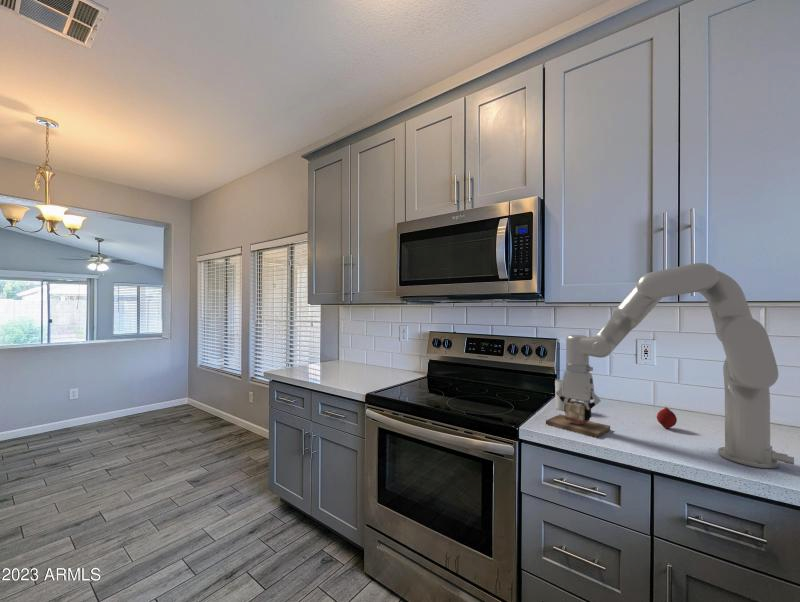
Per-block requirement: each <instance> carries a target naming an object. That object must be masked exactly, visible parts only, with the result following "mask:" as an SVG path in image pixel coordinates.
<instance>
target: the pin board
mask: <svg viewBox="0 0 800 602" xmlns="http://www.w3.org/2000/svg"><path fill="white" fill-rule="evenodd" d="M546 424H548V425H547V426H550V425H551V426H550V427H553V426H555V427H554V428H557V427H558V429H561V428H562V429H561V430H565V429H566V430H565V431H568V430H569V432H572V431H573V432H572V433H576V432H577V434H580V435H584V436H588V437H591V436H592V437H591V438H595V437H596V438H595V439H599V438H600V437H602V436H603V435H605V434H606V433H608V432H609V430H611V425H609V424H608V425H607V424H604V423H599V422H595V421H590V420H589V421H587V422H585V423H584V424H581V425H577V424H573V423H571V421H569V420H565V415H564V414H561V413H560V414H558V415H554V416H553V417H550V418H549V419H547V420H546V419H545V425H546ZM607 431H608V432H607ZM604 433H605V434H604ZM601 435H602V436H601ZM598 437H599V438H598Z"/></svg>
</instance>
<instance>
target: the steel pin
mask: <svg viewBox="0 0 800 602" xmlns="http://www.w3.org/2000/svg"><path fill="white" fill-rule="evenodd" d="M573 404H575V405H580V406H581V405H583V404H579V403H573ZM571 423H573V424H577V425H581V424H582V423H578V422H573V421H571Z"/></svg>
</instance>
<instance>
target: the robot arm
mask: <svg viewBox="0 0 800 602" xmlns="http://www.w3.org/2000/svg"><path fill="white" fill-rule="evenodd" d="M692 293H699V294H700V295H702V296H703V297H704V298H705V299H706V302H707V304H708V307H709V310H710V313H711V317H712V321H713V324H714V325H713V326H714V328H715V335H716V338H718V340H719V341H720V342H721V345H722V347H723V350H724V354H725V360H724V362H723V366H722V369H723V370H722V371H723V383H724V384H723V385H724V446H720V447H718V449H717V452H718V455H720V456H721V457H723V458H724V459H727V460H729V461H731V462H735V463H738V464H741V465H745V466H747V467H748V466H749V467H753V468H761V469H775V468H778V467H779V462H782V463H785V464H788V465H793V466H794V465H795V456H794V457H793V456H789V454H786V453H780V452H777V451H776V450H773V446H772V445H771V396H770V395H771V394H770V388H771V387H772V386H773V385H775V384H776V382H777V380H778V379H779V369H778V365H777V361H776V357H775V354H774V351H773V348H772V344H771V340H770V338H769V334H768V333H767V330H766V329H765V327H764V325H763V324H762V323H760V321H758V320H757V319H754V318H753V316H752V313H751V310H750V306H749V304H748V301H747V298H746V296H745V295H746V294H745V293H744V291H743V289H742V287H741V286H740V284H739V283H738V282H737V281H736V280H735V279H733V277H731V276H730V275H728V274H726V273H724V272H723V271H720V270H717V269H716V268H715V267H714V266H713V265H711V264H708V263H704V262H696V263H691V264H684V265H682V266H676V267H672V268H666V269H661V270H656V271H651V272H648V273H645V274H643V275H642V276H641V277H640V278H639V279H638V281H637V283H636V284H635V286H634V287H632V289H631V290H630V291H629V293H628V294H627V295H626V296H625V297H624V299H622V301H621V302H620V303H619V304H618V306H617V307H616V308H615V309H614V310H613V314H612V315H611V317H610V319H609V320H608V321H607V323H606V324H605V325H604V326H603V327H602V329H601V330H600V331H599V332H598V333H597V334H596V335H595V336H586V335H583V334H581V335H580V334H570V335H567V336H566V339H565V342H566V343H565V352H566V353H565V355H566V357H565V365H566V366H565V370H564V372H563V376H562V380H563V382H562V388H561V389H560V390H558V391H557V392H556V394H557V395H558V397H559V398H560V399H561V401H562V402H563V404H564V412H565V403H567V402H570V400H571V399H572V400H574V401H575V400H579V402H583V403H584V404H585V407H586V409H585V420H586V421H587V420H589V419H592V418H591V417H592V409H593V408H594V407H595V406H597V405H598V404H599V403H601V399H600V398H599V397H598V395H596V393H595V386H594V378H593V374H592V371H594V367H592V366H590V357H595V358H598V359H599V358H602V359H603V358H606V357H608V356H610V355H611V353H613V351H614V350H615V349H616V348H617V347H618V345H620V343H621V342H622V341H623V340H624V339H625V338H626V336H627V335H628V334H629V333H630V332H631V331H632V330H634V329H635V328H636V327H637V326H638V325H640V323H641V322H643V320H644V319H645V318H646V317H647V316H648V315H649V313H650V312H652V310H654V308H655V306H656V305H657V304H658V303H660V301H661V300H662V299H663V298H668V297H673V296H681V295H687V294H692ZM591 400H593V401H592V402H591ZM589 421H590V420H589Z"/></svg>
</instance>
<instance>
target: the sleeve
mask: <svg viewBox="0 0 800 602" xmlns="http://www.w3.org/2000/svg"><path fill="white" fill-rule="evenodd" d="M573 403H579V404H583V405H581V406H580V405H575V404H573ZM585 409H586V407H585V404H584V402H583V401H575V400H574V399H572V401H570V402H567V403H565V411H564V413H565V420H569V421H573V422H578V423H582V424H584V423H585V422H587V421H590V419H591V418H590V419H589V420H587V421H586V420H585Z"/></svg>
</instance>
